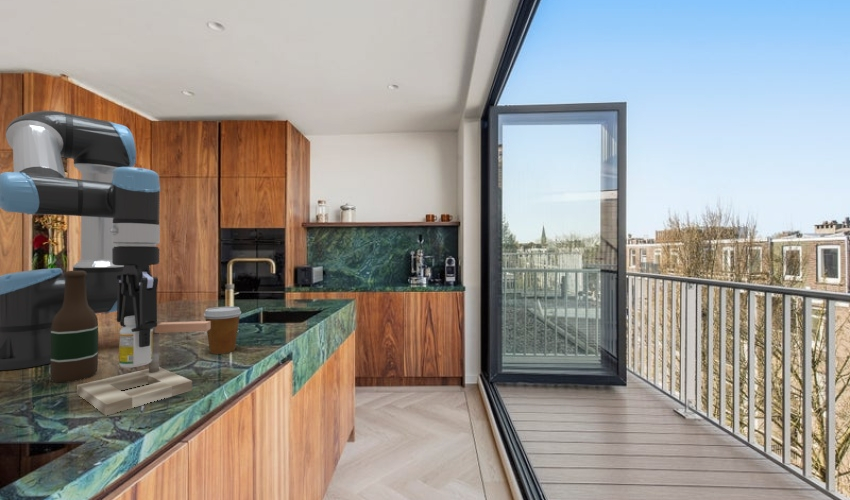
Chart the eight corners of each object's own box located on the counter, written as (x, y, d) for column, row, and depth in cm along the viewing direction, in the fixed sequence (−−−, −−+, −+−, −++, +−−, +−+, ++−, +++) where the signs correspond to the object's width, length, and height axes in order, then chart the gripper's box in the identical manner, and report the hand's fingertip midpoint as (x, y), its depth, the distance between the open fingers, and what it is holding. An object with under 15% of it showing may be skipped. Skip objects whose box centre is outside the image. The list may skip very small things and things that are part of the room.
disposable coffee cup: (224, 356, 100) (225, 312, 100) (194, 354, 102) (195, 310, 102) (248, 347, 109) (248, 307, 109) (220, 345, 111) (220, 305, 111)
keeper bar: (143, 333, 80) (143, 325, 80) (150, 330, 83) (150, 322, 83) (206, 331, 83) (206, 323, 83) (210, 328, 85) (210, 320, 85)
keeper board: (77, 395, 73) (77, 342, 73) (158, 375, 85) (158, 329, 85) (106, 415, 65) (106, 356, 65) (192, 390, 76) (192, 339, 76)
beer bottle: (100, 376, 84) (100, 271, 84) (51, 385, 78) (51, 272, 78) (95, 368, 89) (96, 269, 89) (49, 376, 83) (50, 270, 83)
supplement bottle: (133, 369, 72) (133, 319, 71) (111, 366, 73) (112, 318, 73) (159, 360, 77) (159, 314, 77) (138, 359, 78) (139, 313, 78)
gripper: (96, 245, 77) (96, 357, 77) (132, 245, 66) (131, 373, 67) (139, 245, 83) (139, 349, 83) (178, 245, 73) (177, 363, 73)
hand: (136, 359), depth 75 cm, fingers closed on supplement bottle, 5 cm apart
